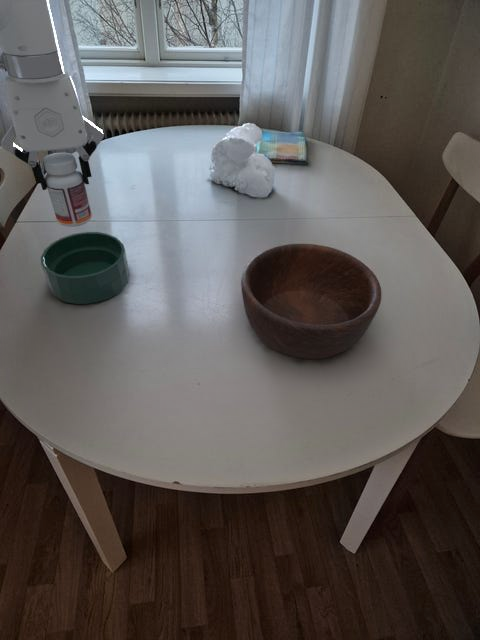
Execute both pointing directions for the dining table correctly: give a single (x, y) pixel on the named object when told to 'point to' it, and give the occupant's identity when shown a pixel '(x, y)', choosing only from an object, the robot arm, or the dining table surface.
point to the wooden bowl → (309, 299)
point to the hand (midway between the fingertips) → (65, 182)
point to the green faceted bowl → (85, 267)
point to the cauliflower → (242, 162)
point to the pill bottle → (66, 189)
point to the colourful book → (284, 147)
